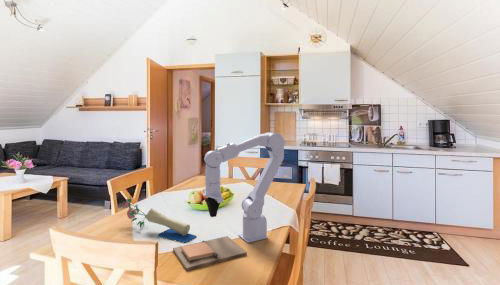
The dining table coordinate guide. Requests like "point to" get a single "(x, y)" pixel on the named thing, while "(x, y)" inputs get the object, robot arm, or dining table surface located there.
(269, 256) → the dining table surface
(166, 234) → the blue flat pad
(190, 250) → the tile
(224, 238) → the board
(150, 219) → the flower vase
